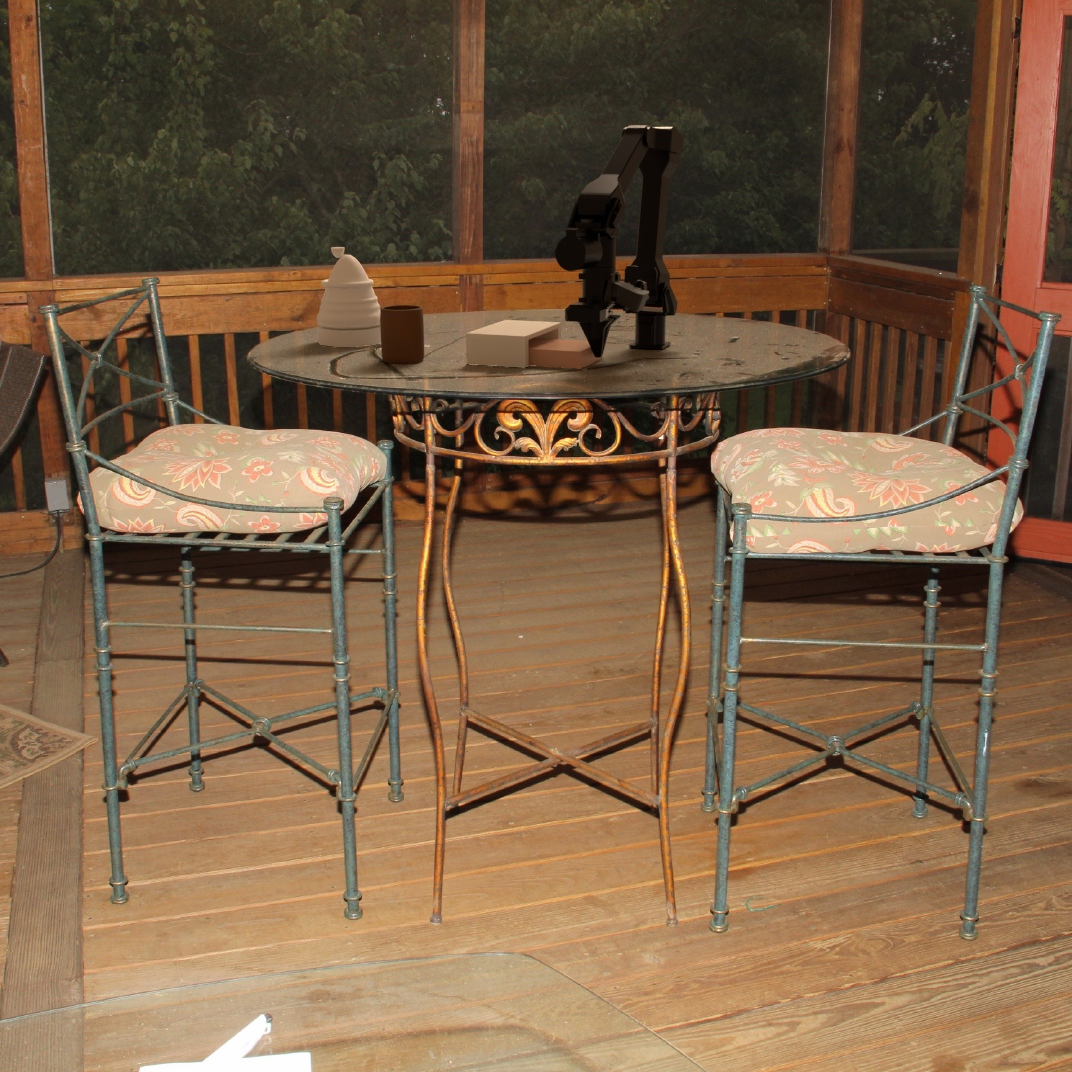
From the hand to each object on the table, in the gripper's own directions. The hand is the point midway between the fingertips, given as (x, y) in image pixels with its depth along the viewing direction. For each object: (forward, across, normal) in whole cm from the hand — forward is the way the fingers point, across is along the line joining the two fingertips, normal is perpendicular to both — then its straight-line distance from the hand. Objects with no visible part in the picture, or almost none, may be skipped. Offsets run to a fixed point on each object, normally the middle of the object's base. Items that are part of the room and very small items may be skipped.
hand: (598, 357), depth 221 cm
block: (+2, 0, +10) cm, 10 cm away
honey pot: (+1, +7, +53) cm, 53 cm away
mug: (+1, -7, +35) cm, 35 cm away
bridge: (+1, 0, +16) cm, 16 cm away
